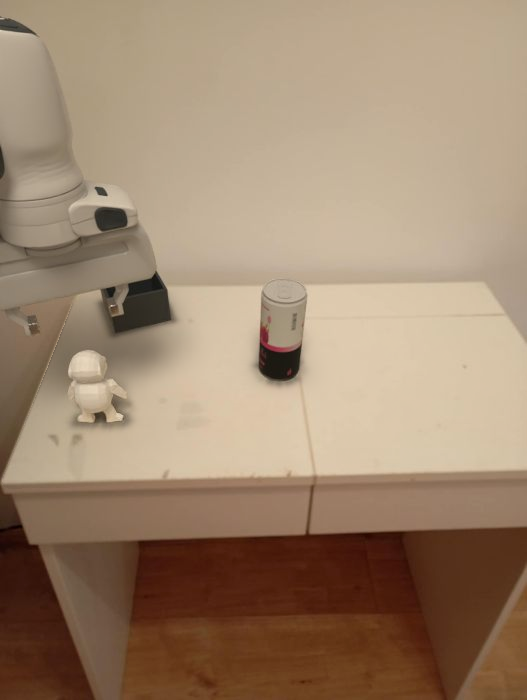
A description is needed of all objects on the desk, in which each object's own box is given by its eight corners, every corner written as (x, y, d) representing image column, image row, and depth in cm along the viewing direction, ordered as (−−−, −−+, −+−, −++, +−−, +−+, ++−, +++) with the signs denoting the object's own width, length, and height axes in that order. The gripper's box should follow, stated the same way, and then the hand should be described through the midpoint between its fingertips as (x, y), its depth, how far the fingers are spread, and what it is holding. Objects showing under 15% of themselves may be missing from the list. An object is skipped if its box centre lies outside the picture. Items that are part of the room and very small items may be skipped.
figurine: (132, 406, 68) (119, 343, 61) (127, 431, 65) (112, 367, 57) (76, 407, 68) (55, 343, 60) (67, 432, 64) (44, 368, 57)
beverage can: (256, 380, 74) (259, 301, 64) (260, 353, 79) (263, 275, 69) (298, 383, 73) (307, 304, 64) (299, 356, 78) (307, 278, 69)
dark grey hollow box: (115, 333, 81) (108, 302, 77) (103, 302, 88) (96, 272, 84) (171, 319, 85) (167, 289, 81) (155, 291, 92) (151, 262, 87)
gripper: (-79, 245, 41) (-21, 363, 50) (151, 207, 48) (166, 316, 57) (-75, 216, 45) (-22, 329, 54) (136, 185, 52) (152, 290, 61)
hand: (76, 322), depth 56 cm, fingers open, 8 cm apart
